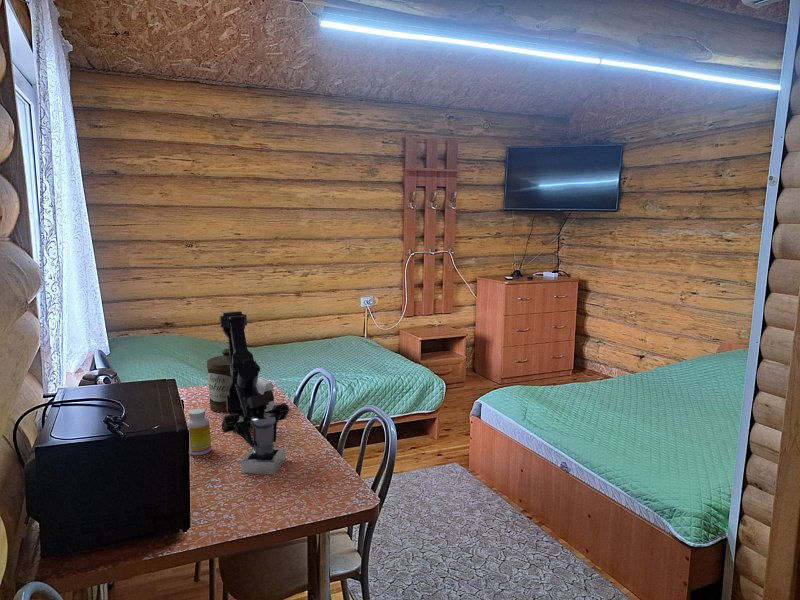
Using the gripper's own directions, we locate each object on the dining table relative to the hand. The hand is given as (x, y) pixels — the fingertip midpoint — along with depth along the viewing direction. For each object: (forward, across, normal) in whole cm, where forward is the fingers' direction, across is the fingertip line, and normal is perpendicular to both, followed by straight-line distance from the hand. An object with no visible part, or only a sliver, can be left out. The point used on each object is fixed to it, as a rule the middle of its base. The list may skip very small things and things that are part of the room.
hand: (264, 444), depth 159 cm
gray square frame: (+4, 0, +6) cm, 7 cm away
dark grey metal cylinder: (+4, 0, +6) cm, 7 cm away
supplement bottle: (-11, -12, +21) cm, 27 cm away
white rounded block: (-27, +16, +37) cm, 49 cm away
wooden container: (-35, +8, +46) cm, 58 cm away
